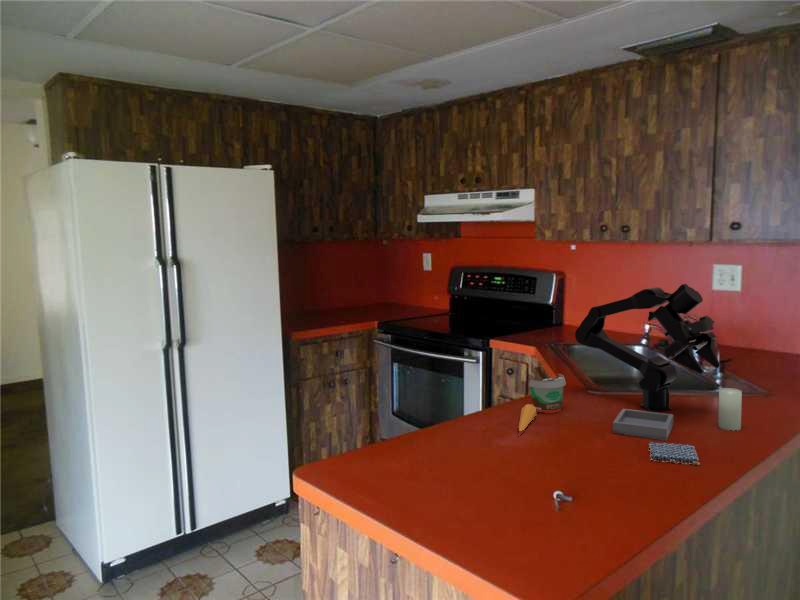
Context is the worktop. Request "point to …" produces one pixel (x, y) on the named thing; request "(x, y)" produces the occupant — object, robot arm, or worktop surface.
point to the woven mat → (673, 453)
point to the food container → (547, 393)
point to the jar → (730, 409)
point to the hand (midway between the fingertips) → (710, 369)
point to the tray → (643, 424)
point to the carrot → (527, 416)
